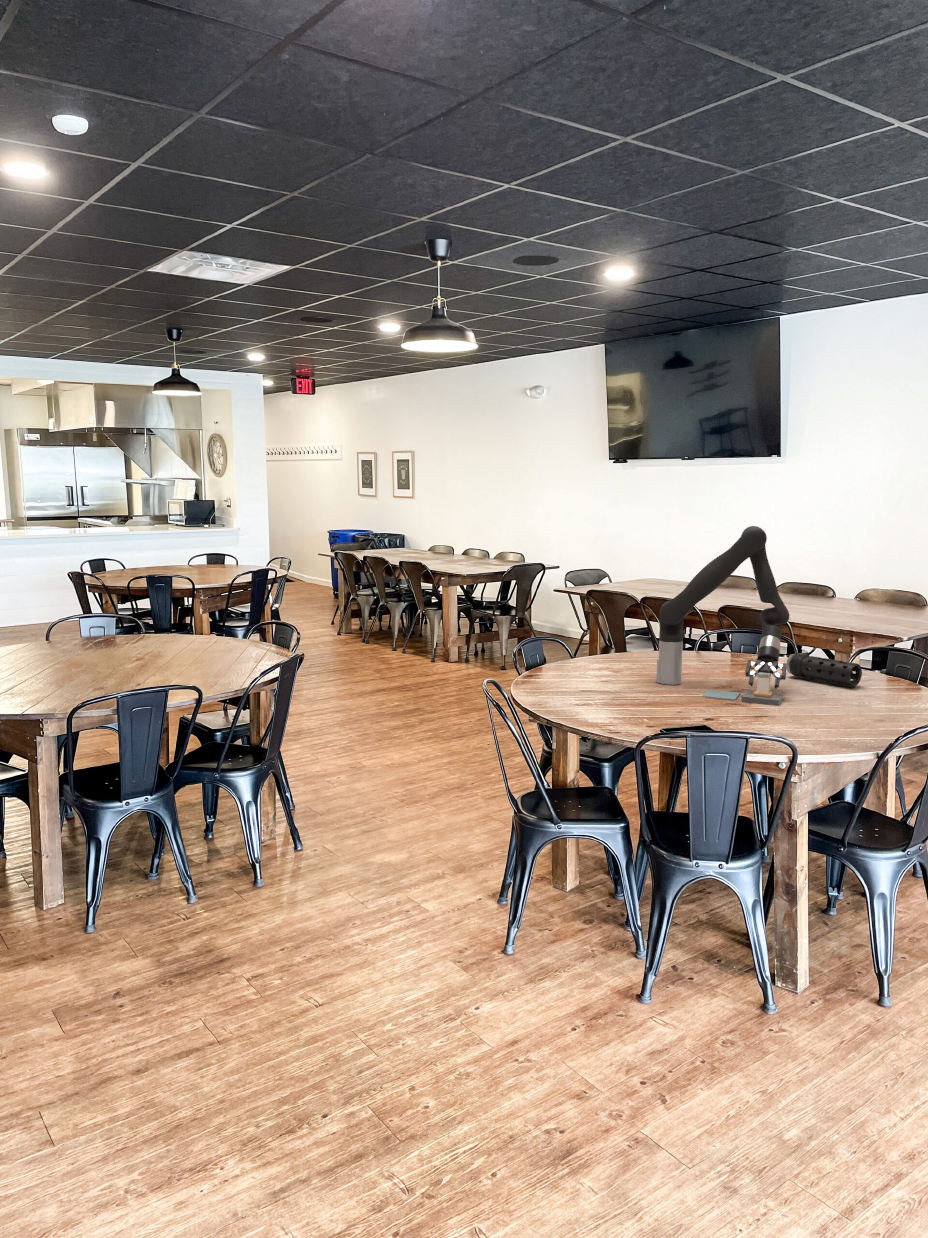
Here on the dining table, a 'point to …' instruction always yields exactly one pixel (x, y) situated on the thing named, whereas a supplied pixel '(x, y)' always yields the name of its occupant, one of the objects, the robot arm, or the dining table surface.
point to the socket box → (763, 698)
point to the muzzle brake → (824, 670)
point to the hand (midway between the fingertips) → (763, 686)
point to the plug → (763, 685)
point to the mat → (721, 695)
